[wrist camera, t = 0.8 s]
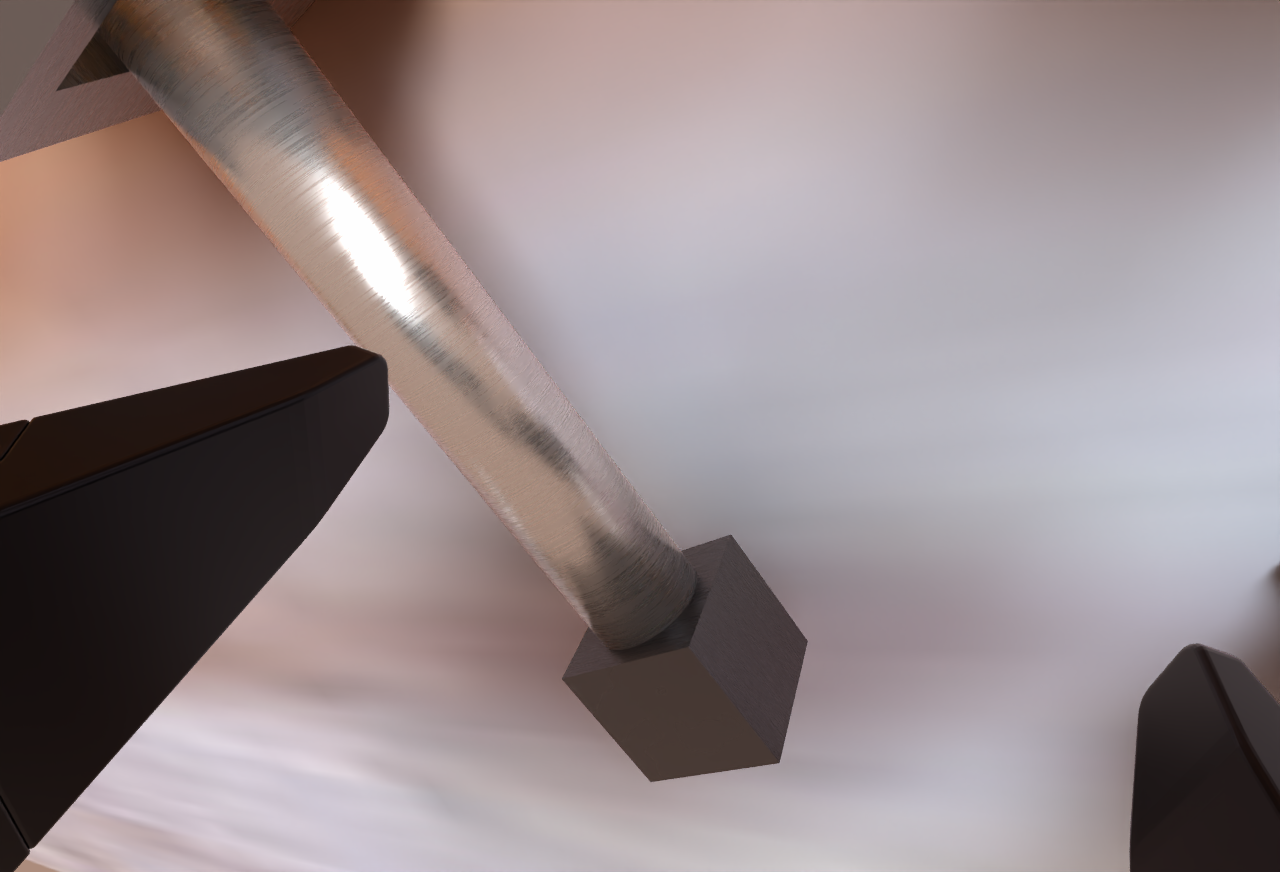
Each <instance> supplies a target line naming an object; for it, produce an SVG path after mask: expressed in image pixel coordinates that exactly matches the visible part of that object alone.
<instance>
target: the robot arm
mask: <svg viewBox="0 0 1280 872" xmlns="http://www.w3.org/2000/svg"><path fill="white" fill-rule="evenodd" d="M388 416H389V386H388V365H387V362H386V359H385V358H384V357H383V356H382V355H380V354H378V353H375V352H373V351H370V350H367V349H364V348H361V347H358V346H353V345H350V346H345V347H340V348H336V349H332V350H327V351H323V352H319V353H314V354H310V355H306V356H301V357H297V358H292V359H288V360H284V361H279V362H275V363H271V364H266V365H262V366H257V367H253V368H249V369H244V370H240V371H236V372H231V373H227V374H222V375H218V376H214V377H209V378H205V379H201V380H196V381H192V382H187V383H183V384H179V385H174V386H170V387H166V388H161V389H157V390H152V391H148V392H144V393H139V394H135V395H131V396H126V397H122V398H117V399H113V400H109V401H104V402H100V403H96V404H91V405H87V406H82V407H78V408H74V409H69V410H65V411H61V412H56V413H52V414H48V415H43V416H39V417H35V418H33V419H32V420H31V421H30V422H29V421H28V420H20V421H16V422H12V423H8V424H3V425H0V872H14V871H15V870H16V869H17V868H18V866H19V865H20V864H21V863H22V862H23V861H24V860H25V858H26V857H27V856H28V855H29V854H30V849H32V848H34V847H35V846H36V845H37V844H38V843H39V842H40V841H41V839H42V838H43V837H44V836H45V835H46V834H47V833H48V831H49V830H50V829H51V828H52V827H53V826H54V825H55V823H56V822H57V821H58V820H59V819H60V818H61V817H62V816H63V814H64V813H65V812H66V811H67V810H68V809H69V808H70V806H71V805H72V804H73V803H74V802H75V801H76V800H77V798H78V797H79V796H80V795H81V794H82V793H83V792H84V790H85V789H86V788H87V787H88V786H89V785H90V784H91V783H92V781H93V780H94V779H95V778H96V777H97V776H98V775H99V773H100V772H101V771H102V770H103V769H104V768H105V767H106V765H107V764H108V763H109V762H110V761H111V760H112V759H113V757H114V756H115V755H116V754H117V753H118V752H119V751H120V749H121V748H122V747H123V746H124V745H125V744H126V743H127V742H128V740H129V739H130V738H131V737H132V736H133V735H134V734H135V732H136V731H137V730H138V729H139V728H140V727H141V726H142V724H143V723H144V722H145V721H146V720H147V719H148V718H149V716H150V715H151V714H152V713H153V712H154V711H155V710H156V709H157V707H158V706H159V705H160V704H161V703H162V702H163V701H164V699H165V698H166V697H167V696H168V695H169V694H170V693H171V691H172V690H173V689H174V688H175V687H176V686H177V685H178V683H179V682H180V681H181V680H182V679H183V678H184V677H185V676H186V674H187V673H188V672H189V671H190V670H191V669H192V668H193V666H194V665H195V664H196V663H197V662H198V661H199V660H200V658H201V657H202V656H203V655H204V654H205V653H206V652H207V650H208V649H209V648H210V647H211V646H212V645H213V644H214V643H215V641H216V640H217V639H218V638H219V637H220V636H221V635H222V633H223V632H224V631H225V630H226V629H227V628H228V627H229V625H230V624H231V623H232V622H233V621H234V620H235V619H236V617H237V616H238V615H239V614H240V613H241V612H242V611H243V610H244V608H245V607H246V606H247V605H248V604H249V603H250V602H251V600H252V599H253V598H254V597H255V596H256V595H257V594H258V592H259V591H260V590H261V589H262V588H263V587H264V586H265V584H266V583H267V582H268V581H269V580H270V579H271V578H272V576H273V575H274V574H275V573H276V572H277V571H278V570H279V569H280V567H281V566H282V565H283V564H284V563H285V562H286V561H287V559H288V558H289V557H290V556H291V555H292V554H293V553H294V551H295V550H296V549H297V548H298V547H299V546H300V545H301V543H302V542H303V541H304V540H305V539H306V538H307V536H308V535H309V534H310V533H311V532H312V530H313V529H314V528H315V527H316V526H317V524H318V523H319V522H320V520H321V519H322V518H323V516H324V515H325V514H326V512H327V511H328V510H329V508H330V507H331V505H332V504H333V502H334V501H335V500H336V498H337V497H338V495H339V494H340V492H341V491H342V490H343V488H344V487H345V485H346V484H347V482H348V481H349V480H350V478H351V477H352V475H353V474H354V472H355V471H356V469H357V468H358V467H359V465H360V464H361V462H362V461H363V459H364V458H365V457H366V455H367V454H368V452H369V451H370V449H371V448H372V447H373V445H374V444H375V442H376V441H377V439H378V438H379V436H380V435H381V434H382V432H383V430H384V428H385V426H386V424H387V421H388ZM1130 872H1280V705H1279V703H1278V702H1277V701H1276V700H1275V699H1274V698H1273V696H1272V695H1271V694H1270V693H1269V692H1268V691H1267V689H1266V688H1265V687H1264V686H1263V685H1262V684H1261V683H1260V681H1259V680H1258V679H1257V678H1256V677H1255V676H1254V674H1253V673H1252V672H1251V671H1250V670H1249V669H1248V668H1247V666H1246V665H1245V664H1244V663H1243V662H1242V661H1241V660H1240V659H1238V658H1237V657H1235V656H1233V655H1230V654H1228V653H1225V652H1222V651H1219V650H1216V649H1213V648H1211V647H1208V646H1205V645H1202V644H1189V645H1188V646H1186V647H1184V648H1183V649H1182V650H1181V651H1180V652H1179V653H1178V654H1177V655H1176V657H1175V658H1174V659H1173V660H1172V661H1171V663H1170V664H1169V665H1168V666H1167V667H1166V668H1165V670H1164V671H1163V672H1162V673H1161V674H1160V675H1159V677H1158V678H1157V679H1156V680H1155V681H1154V682H1153V684H1152V685H1151V686H1150V687H1149V688H1148V690H1147V691H1146V693H1145V694H1144V696H1143V698H1142V701H1141V704H1140V708H1139V713H1138V726H1137V740H1136V755H1135V769H1134V784H1133V798H1132V812H1131V827H1130Z"/></svg>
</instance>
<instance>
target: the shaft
mask: <svg viewBox="0 0 1280 872" xmlns="http://www.w3.org/2000/svg"><path fill="white" fill-rule="evenodd" d="M97 32H98V33H99V34H100V35H101V37H102V38H103V39H104V40H105V42H106V43H107V44H108V45H109V46H110V48H111V49H112V50H113V51H114V52H115V54H116V55H117V56H118V57H119V58H120V60H121V61H122V62H123V63H124V65H125V66H126V67H127V68H128V69H129V71H130V72H131V73H132V74H133V75H134V77H135V78H136V79H137V80H138V81H139V83H140V84H141V85H142V86H143V88H144V89H145V90H146V91H147V92H148V94H149V95H150V96H151V97H152V98H153V100H154V101H155V102H156V103H157V104H158V106H159V107H160V108H161V109H162V111H163V112H164V113H165V114H166V115H167V117H168V118H169V119H170V120H171V121H172V123H173V124H174V125H175V126H176V127H177V129H178V130H179V131H180V132H181V134H182V135H183V136H184V137H185V138H186V140H187V141H188V142H189V143H190V144H191V146H192V147H193V148H194V149H195V151H196V152H197V153H198V154H199V155H200V157H201V158H202V159H203V160H204V161H205V163H206V164H207V165H208V166H209V167H210V169H211V170H212V171H213V172H214V174H215V175H216V176H217V177H218V178H219V180H220V181H221V182H222V183H223V184H224V186H225V187H226V188H227V189H228V190H229V192H230V193H231V194H232V195H233V197H234V198H235V199H236V200H237V201H238V203H239V204H240V205H241V206H242V207H243V209H244V210H245V211H246V212H247V213H248V215H249V216H250V217H251V218H252V220H253V221H254V222H255V223H256V224H257V226H258V227H259V228H260V229H261V230H262V232H263V233H264V234H265V235H266V236H267V238H268V239H269V240H270V241H271V243H272V244H273V245H274V246H275V247H276V249H277V250H278V251H279V252H280V253H281V255H282V256H283V257H284V258H285V260H286V261H287V262H288V263H289V264H290V266H291V267H292V268H293V269H294V270H295V272H296V273H297V274H298V275H299V276H300V278H301V279H302V280H303V281H304V283H305V284H306V285H307V286H308V287H309V289H310V290H311V291H312V292H313V293H314V295H315V296H316V297H317V298H318V299H319V301H320V302H321V303H322V304H323V306H324V307H325V308H326V309H327V310H328V312H329V313H330V314H331V315H332V316H333V318H334V319H335V320H336V321H337V322H338V324H339V325H340V326H341V327H342V329H343V330H344V331H345V332H346V333H347V335H348V336H349V337H350V338H351V339H352V341H353V342H354V343H355V344H356V345H357V346H358V347H361V348H364V349H367V350H370V351H373V352H375V353H378V354H380V355H382V356H383V357H384V358H385V359H386V362H387V365H388V384H389V385H390V387H391V388H392V389H393V390H394V392H395V393H396V394H397V395H398V396H399V398H400V399H401V400H402V401H403V402H404V404H405V405H406V406H407V407H408V408H409V410H410V411H411V412H412V413H413V415H414V416H415V417H416V418H417V419H418V421H419V422H420V423H421V424H422V425H423V427H424V428H425V429H426V430H427V431H428V433H429V434H430V435H431V436H432V438H433V439H434V440H435V441H436V442H437V444H438V445H439V446H440V447H441V448H442V450H443V451H444V452H445V453H446V454H447V456H448V457H449V458H450V459H451V461H452V462H453V463H454V464H455V465H456V467H457V468H458V469H459V470H460V471H461V473H462V474H463V475H464V476H465V477H466V479H467V480H468V481H469V482H470V484H471V485H472V486H473V487H474V488H475V490H476V491H477V492H478V493H479V494H480V496H481V497H482V498H483V499H484V501H485V502H486V503H487V504H488V505H489V507H490V508H491V509H492V510H493V511H494V513H495V514H496V515H497V516H498V517H499V519H500V520H501V521H502V522H503V524H504V525H505V526H506V527H507V528H508V530H509V531H510V532H511V533H512V534H513V536H514V537H515V538H516V539H517V540H518V542H519V543H520V544H521V545H522V547H523V548H524V549H525V550H526V551H527V553H528V554H529V555H530V556H531V557H532V559H533V560H534V561H535V562H536V563H537V565H538V566H539V567H540V568H541V570H542V571H543V572H544V573H545V574H546V576H547V577H548V578H549V579H550V580H551V582H552V583H553V584H554V585H555V586H556V588H557V589H558V590H559V591H560V593H561V594H562V595H563V596H564V597H565V599H566V600H567V601H568V602H569V603H570V605H571V606H572V607H573V608H574V610H575V611H576V612H577V613H578V614H579V616H580V617H581V618H582V619H583V620H584V622H585V623H586V624H587V625H588V626H589V627H588V629H587V631H586V633H585V635H584V637H583V639H582V641H581V643H580V645H579V647H578V649H577V651H576V653H575V655H574V657H573V658H572V660H571V662H570V664H569V666H568V668H567V670H566V672H565V674H564V676H563V678H562V680H563V681H564V682H565V683H566V684H567V685H568V687H569V688H570V689H571V690H572V691H573V692H574V693H575V695H576V696H577V697H578V698H579V699H580V700H581V702H582V703H583V704H584V705H585V706H586V707H587V709H588V710H589V711H590V712H591V713H592V714H593V716H594V717H595V718H596V719H597V720H598V721H599V722H600V724H601V725H602V726H603V727H604V728H605V729H606V731H607V732H608V733H609V734H610V735H611V736H612V738H613V739H614V740H615V741H616V742H617V743H618V744H619V746H620V747H621V748H622V749H623V750H624V751H625V753H626V754H627V755H628V756H629V757H630V758H631V760H632V761H633V762H634V763H635V764H636V765H637V767H638V768H639V769H640V770H641V771H642V772H643V773H644V775H645V776H646V777H647V778H648V779H649V780H650V782H654V781H660V780H667V779H674V778H681V777H688V776H694V775H701V774H708V773H715V772H722V771H729V770H735V769H742V768H749V767H756V766H763V765H769V764H776V763H780V759H781V754H782V750H783V746H784V741H785V737H786V733H787V728H788V724H789V720H790V715H791V711H792V707H793V702H794V698H795V694H796V690H797V685H798V681H799V677H800V672H801V668H802V664H803V659H804V655H805V651H806V646H807V642H808V641H807V639H806V638H805V637H804V635H803V634H802V632H801V631H800V630H799V628H798V627H797V626H796V624H795V623H794V621H793V620H792V619H791V617H790V616H789V614H788V613H787V612H786V610H785V609H784V607H783V606H782V605H781V603H780V602H779V601H778V599H777V598H776V596H775V595H774V594H773V592H772V591H771V589H770V588H769V587H768V585H767V584H766V582H765V581H764V580H763V578H762V577H761V575H760V574H759V573H758V571H757V570H756V569H755V567H754V566H753V564H752V563H751V562H750V560H749V559H748V557H747V556H746V555H745V553H744V552H743V550H742V549H741V548H740V546H739V545H738V544H737V542H736V541H735V539H734V538H733V537H732V535H728V536H725V537H722V538H719V539H716V540H713V541H710V542H707V543H704V544H701V545H698V546H695V547H692V548H689V549H686V550H683V551H680V549H679V548H678V547H677V545H676V544H675V543H674V541H673V540H672V539H671V537H670V536H669V535H668V533H667V532H666V531H665V529H664V528H663V527H662V525H661V524H660V523H659V521H658V520H657V519H656V517H655V516H654V515H653V513H652V512H651V511H650V509H649V508H648V507H647V505H646V504H645V503H644V501H643V500H642V499H641V497H640V496H639V495H638V493H637V492H636V491H635V489H634V488H633V487H632V485H631V484H630V483H629V481H628V480H627V479H626V477H625V476H624V475H623V473H622V472H621V471H620V469H619V468H618V467H617V465H616V464H615V463H614V461H613V460H612V459H611V457H610V456H609V455H608V453H607V452H606V451H605V449H604V448H603V447H602V445H601V444H600V443H599V441H598V440H597V439H596V437H595V436H594V435H593V433H592V432H591V431H590V429H589V428H588V427H587V425H586V424H585V423H584V421H583V420H582V418H581V417H580V416H579V414H578V413H577V412H576V410H575V409H574V408H573V406H572V405H571V404H570V402H569V401H568V400H567V398H566V397H565V396H564V394H563V393H562V392H561V390H560V389H559V388H558V386H557V385H556V384H555V382H554V381H553V380H552V378H551V377H550V376H549V374H548V373H547V372H546V370H545V369H544V368H543V366H542V365H541V364H540V362H539V361H538V360H537V358H536V357H535V356H534V354H533V353H532V352H531V350H530V349H529V348H528V346H527V345H526V344H525V342H524V341H523V340H522V338H521V337H520V336H519V334H518V333H517V332H516V330H515V329H514V328H513V326H512V325H511V324H510V322H509V321H508V320H507V318H506V317H505V316H504V314H503V313H502V312H501V310H500V309H499V308H498V306H497V305H496V304H495V302H494V301H493V300H492V298H491V297H490V296H489V294H488V293H487V292H486V290H485V289H484V288H483V286H482V285H481V284H480V282H479V281H478V280H477V278H476V277H475V276H474V274H473V273H472V272H471V270H470V269H469V268H468V266H467V265H466V264H465V262H464V261H463V260H462V258H461V257H460V256H459V254H458V253H457V252H456V250H455V249H454V248H453V246H452V245H451V244H450V242H449V241H448V240H447V238H446V237H445V236H444V234H443V233H442V232H441V230H440V229H439V228H438V226H437V225H436V224H435V222H434V221H433V220H432V218H431V217H430V216H429V214H428V213H427V212H426V210H425V209H424V208H423V206H422V205H421V204H420V202H419V201H418V200H417V198H416V197H415V196H414V194H413V193H412V192H411V190H410V189H409V188H408V186H407V185H406V184H405V182H404V181H403V180H402V178H401V177H400V176H399V174H398V173H397V172H396V170H395V169H394V168H393V166H392V165H391V164H390V162H389V161H388V160H387V158H386V157H385V156H384V154H383V153H382V152H381V150H380V149H379V148H378V146H377V145H376V144H375V142H374V141H373V140H372V138H371V137H370V136H369V134H368V133H367V132H366V130H365V129H364V128H363V126H362V125H361V124H360V122H359V121H358V120H357V118H356V117H355V116H354V114H353V113H352V112H351V110H350V109H349V108H348V106H347V105H346V104H345V102H344V101H343V100H342V98H341V97H340V96H339V94H338V93H337V92H336V90H335V89H334V88H333V86H332V85H331V84H330V82H329V81H328V80H327V78H326V77H325V76H324V74H323V73H322V72H321V70H320V69H319V68H318V66H317V65H316V64H315V62H314V61H313V60H312V58H311V57H310V56H309V54H308V53H307V52H306V50H305V49H304V48H303V46H302V45H301V44H300V42H299V41H298V40H297V38H296V37H295V36H294V34H293V33H292V32H291V30H290V29H289V28H288V26H287V25H286V24H285V22H284V21H283V20H282V18H281V17H280V16H279V14H278V13H277V12H276V10H275V9H274V8H273V6H272V5H271V4H270V2H269V1H268V0H118V1H117V2H116V3H115V5H114V6H113V8H112V9H111V11H110V12H109V14H108V15H107V17H106V18H105V20H104V21H103V22H102V24H101V25H100V27H99V28H98V30H97Z"/></svg>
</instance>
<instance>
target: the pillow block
mask: <svg viewBox="0 0 1280 872" xmlns="http://www.w3.org/2000/svg"><path fill="white" fill-rule="evenodd" d="M117 1H118V0H0V162H1V161H4V160H7V159H10V158H13V157H16V156H20V155H23V154H26V153H29V152H32V151H35V150H38V149H41V148H44V147H48V146H51V145H54V144H57V143H60V142H63V141H66V140H69V139H72V138H75V137H79V136H82V135H85V134H88V133H91V132H94V131H97V130H100V129H103V128H107V127H110V126H113V125H116V124H119V123H122V122H125V121H128V120H131V119H134V118H138V117H141V116H144V115H147V114H150V113H153V112H156V111H159V110H162V109H161V108H160V107H159V106H158V104H157V103H156V102H155V101H154V100H153V98H152V97H151V96H150V95H149V94H148V92H147V91H146V90H145V89H144V88H143V86H142V85H141V84H140V83H139V81H138V80H137V79H136V78H135V77H134V75H133V74H132V73H131V72H130V71H129V69H128V68H127V67H126V66H125V65H124V63H123V62H122V61H121V60H120V58H119V57H118V56H117V55H116V54H115V52H114V51H113V50H112V49H111V48H110V46H109V45H108V44H107V43H106V42H105V40H104V39H103V38H102V37H101V35H100V34H99V33H98V32H97V30H98V28H99V27H100V25H101V24H102V22H103V21H104V20H105V18H106V17H107V15H108V14H109V12H110V11H111V9H112V8H113V6H114V5H115V3H116V2H117ZM268 1H269V2H270V4H271V5H272V6H273V8H274V9H275V10H276V12H277V13H278V14H279V16H280V17H281V18H282V20H283V21H284V22H285V24H286V25H287V26H288V28H289V29H290V28H291V27H292V26H293V25H294V24H295V22H296V21H297V20H298V19H299V18H300V17H301V16H302V15H303V13H304V12H305V11H306V10H307V9H308V8H309V7H310V6H311V5H312V3H313V2H314V1H315V0H268Z"/></svg>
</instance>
